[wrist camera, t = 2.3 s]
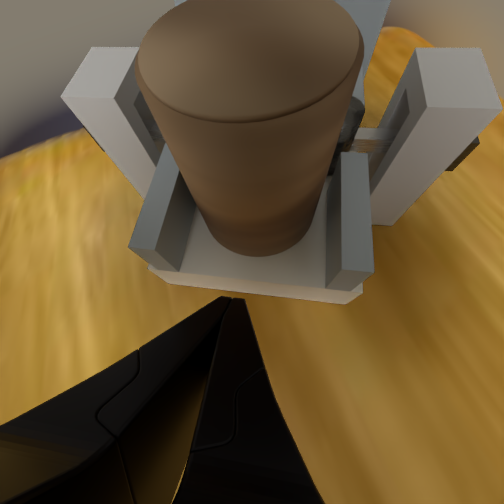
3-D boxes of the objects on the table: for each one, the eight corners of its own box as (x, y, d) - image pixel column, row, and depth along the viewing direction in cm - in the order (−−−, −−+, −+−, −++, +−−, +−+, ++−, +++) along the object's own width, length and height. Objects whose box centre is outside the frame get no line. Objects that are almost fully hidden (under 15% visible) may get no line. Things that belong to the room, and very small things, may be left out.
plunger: (442, 182, 13) (495, 129, 10) (308, 174, 14) (319, 123, 11) (436, 154, 14) (484, 97, 11) (310, 148, 15) (321, 93, 12)
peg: (292, 274, 12) (327, 151, 5) (185, 234, 14) (83, 90, 6) (327, 179, 15) (389, -8, 7) (231, 152, 16) (197, -28, 8)
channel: (399, 311, 14) (579, 251, 6) (124, 278, 16) (-27, 199, 8) (382, 129, 20) (464, -33, 12) (178, 121, 22) (123, -22, 14)
